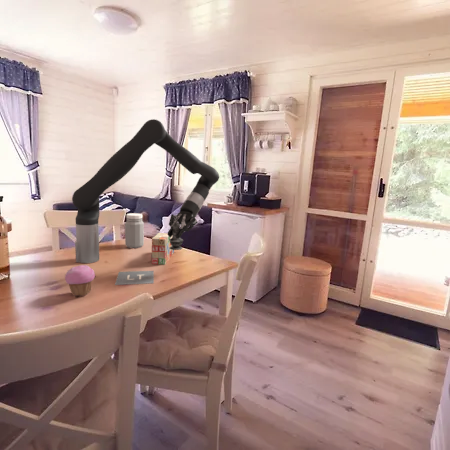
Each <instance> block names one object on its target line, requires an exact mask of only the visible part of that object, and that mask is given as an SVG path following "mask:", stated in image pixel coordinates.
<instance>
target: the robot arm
mask: <svg viewBox="0 0 450 450" xmlns="http://www.w3.org/2000/svg"><path fill="white" fill-rule="evenodd" d="M153 145H157V146H158V147H160V148H161V149H162V150H164V151H165V152H167V153H168V154H169V155H171V157H173V158H174V159H175V160H176V161H177V162H178V163H179V164H180V165H181V166H182V167H184V168H185V169H186V170H187V171H188V172H189V173H191V174H193V175H196V174H198V175H200V177H199V178H198V181H197V182H196V184H195V186H194V188H193V189H192V190H191V192H190V194H189V195H188V196H187V197H186V199H185V201H184V202H183V204H182V205H181V206H180V208H179V212H178V213H177V214H175V215H174V214H173V213H172V214H171V215H170V218H169V221H168V226H169V227H170V228H169V230H168V231H167V233H168V236H169V237H172V235H173V232H172V231H173V223H175V222H176V220H177V222H178V223H179V224H180V229H179V230H178V231H177V233H176V235H175V237H176V238H177V239H179V238H182V235H183V234H184V233H185V232H190V230H191V229H193V228H194V227H195V226H196V225H197V224H198V222H199V221H198V220H197V219H196V217H197V215H198V213H199V212H200V210H201V208H203V205H204V202H205V201H206V199H207V197H209V194H210V190H211V188H212V187H213V186H214V185H215V184H217V182H218V181H219V180H220V174H219V172H218V171H217V169H216V168H215V167H213V166H211V165H209V164H208V163H205V162H203V161H201V160H200V159H199V158H198V157H197V156H196V155H194V154H193V153H192V152H191V151H190V150H189V149H187V148H185V147H184V146H183V145H182V144H179V142H178V141H177V140H175V139H174V138H173V137H172V136H171V135H170V134H169V132H168V131H167V130H166V128H165V127H164V124H163V123H162V121H160V120H158V119H155V118H154V119H153V118H152V119H149V120H147V121H146V122H144V124H143V125H142V126H141V127H140V128H139V130H138V131H137V132H136V133H135V135H134V136H133V137H132V138H131V139H130V140H128V142H126V143H125V144H124V145H123V146H122V147H120V149H119V150H117V151H116V152H115V153H114V154H113V155H112V156H111V157H110V158H109V159H108V160H106V162H105V163H103V165H102V166H101V167H100V168H99V170H97V172H96V173H95V174H94V176H92V177H91V178H90V179H89V180H88V181H87V182H85V183H84V184H83V185H82V186H80V187H79V188H77V189H76V190H75V191H74V192H73V194H72V198H71V200H72V201H71V202H72V204H73V205H74V207H75V208H77V213H76V216H75V237H76V240H75V241H74V245H75V247H74V248H75V263H80V264H90V263H91V264H92V263H96V262H99V260H100V238H99V237H100V236H99V235H100V233H99V231H100V230H99V228H100V227H99V219H100V197H101V195H102V194H103V193H104V192H105V191H106V190H107V189H109V188H110V187H112V186H113V185H115V184H116V183H118V182H119V181H120V180H121V179H123V178H124V177H125V176H126V175H127V174H128V173H130V171H131V170H132V169H133V168H134V167H135V166H136V165H137V163H138V161H139V160H140V158H141V157H142V156H143V154H144V153H145V152H146V151H147V150H148V149H150V148H151V147H152V146H153Z"/></svg>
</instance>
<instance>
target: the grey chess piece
mask: <svg viewBox="0 0 450 450" xmlns="http://www.w3.org/2000/svg"><path fill="white" fill-rule="evenodd" d="M180 227H181V226H180V224H179V223H178V222H177V220H176V222H175V223H173V231H172V232H173V236H172V238H171V239H169V241H170V244H171V245H172V246H171V247H170V249H172V250H174V251H177V250H179V251H180V250H182V249H183V247H182V244H183V242H184V239H183V238H182V237H180V238H179V239H177V238H176V237H175V235H176V233H177V231H178V230H179V229H180Z"/></svg>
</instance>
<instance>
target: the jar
mask: <svg viewBox="0 0 450 450" xmlns="http://www.w3.org/2000/svg"><path fill="white" fill-rule="evenodd" d="M125 216H126V221H125V222H124V238H125V239H124V242H125V243H124V245H125V246H126V248H129V249H139V248H142V247H143V246H144V244H145V236H144V235H145V233H144V232H145V227H144V226H145V223H144V221H143V213H139V212H138V213H137V212H135V213H134V212H133V213H132V212H130V213H127V214H126V215H125Z"/></svg>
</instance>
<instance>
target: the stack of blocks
mask: <svg viewBox="0 0 450 450" xmlns="http://www.w3.org/2000/svg"><path fill="white" fill-rule="evenodd" d="M172 236H173V235H172ZM171 238H172V237H169V236H168V232H167V233H166V232H157V234H156V235H154V236H153V237H152V238H151V264H152V265H166V264H167V262H169V260H170V259H171V256H173V254H174V253H175V250H172V249H170V247H171V246H172V245H171V244H170V241H169V239H171Z"/></svg>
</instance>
